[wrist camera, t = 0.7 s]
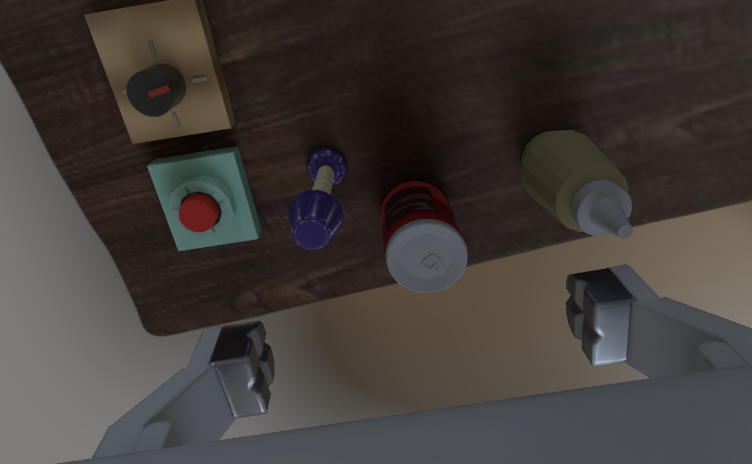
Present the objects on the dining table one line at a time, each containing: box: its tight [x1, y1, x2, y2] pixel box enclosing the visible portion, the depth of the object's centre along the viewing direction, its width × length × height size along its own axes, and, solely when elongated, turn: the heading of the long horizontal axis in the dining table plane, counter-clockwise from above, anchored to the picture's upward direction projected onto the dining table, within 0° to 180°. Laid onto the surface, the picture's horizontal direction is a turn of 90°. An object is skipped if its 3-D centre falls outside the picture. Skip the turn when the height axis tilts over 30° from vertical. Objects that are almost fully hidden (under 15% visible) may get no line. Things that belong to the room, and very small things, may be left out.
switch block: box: [147, 146, 261, 251], centre depth 55 cm, size 10×9×4 cm
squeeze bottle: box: [520, 130, 633, 238], centre depth 48 cm, size 8×8×18 cm
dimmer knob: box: [126, 64, 186, 117], centre depth 47 cm, size 4×4×4 cm
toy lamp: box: [288, 148, 347, 250], centre depth 48 cm, size 5×5×17 cm
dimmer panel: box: [84, 0, 236, 144], centre depth 49 cm, size 12×10×3 cm
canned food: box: [381, 181, 468, 293], centre depth 54 cm, size 8×8×11 cm
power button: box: [179, 194, 219, 232], centre depth 53 cm, size 4×4×2 cm
